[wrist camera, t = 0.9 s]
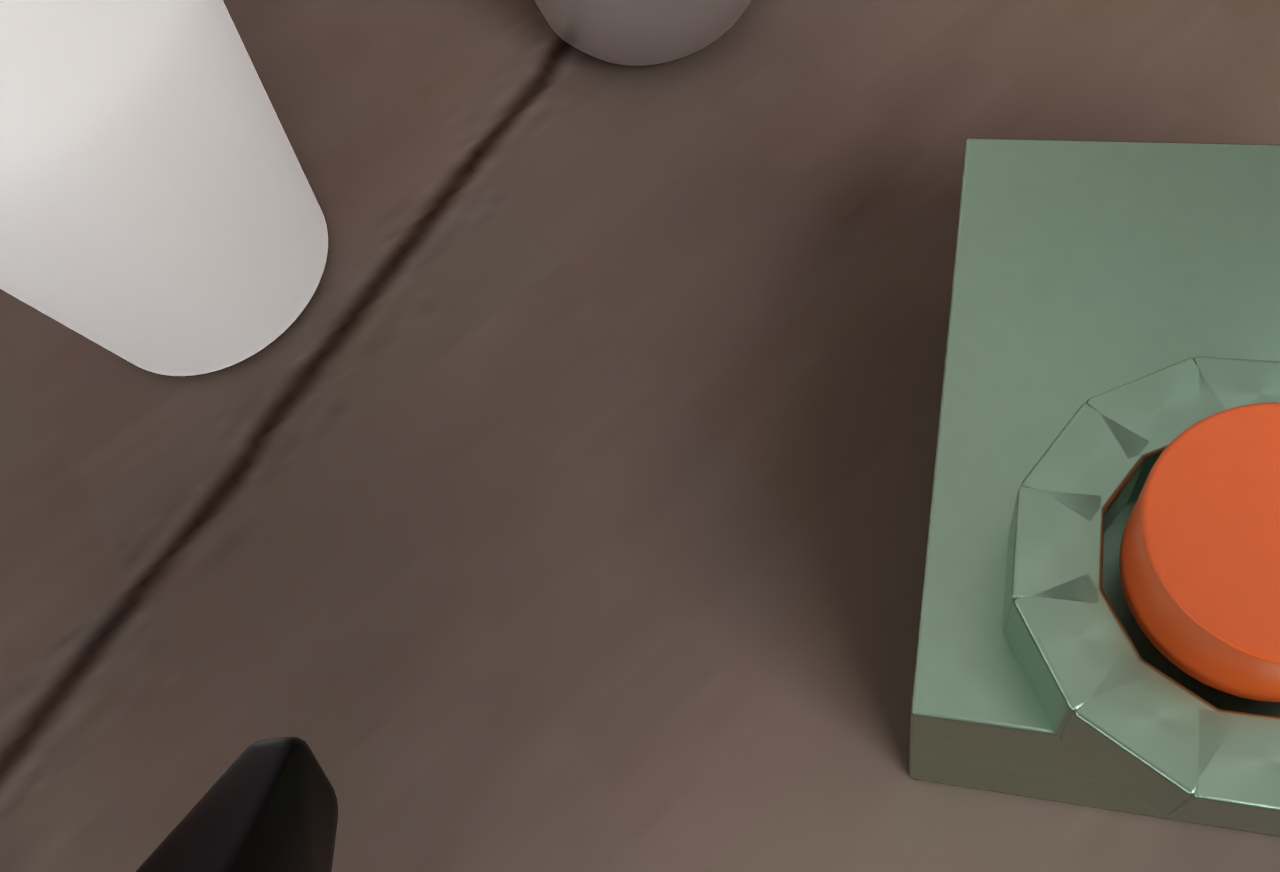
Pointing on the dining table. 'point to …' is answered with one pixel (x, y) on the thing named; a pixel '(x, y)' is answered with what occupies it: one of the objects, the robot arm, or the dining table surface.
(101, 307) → the cup
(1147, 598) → the push button
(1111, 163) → the green button housing
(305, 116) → the dining table surface
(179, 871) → the robot arm
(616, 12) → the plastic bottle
